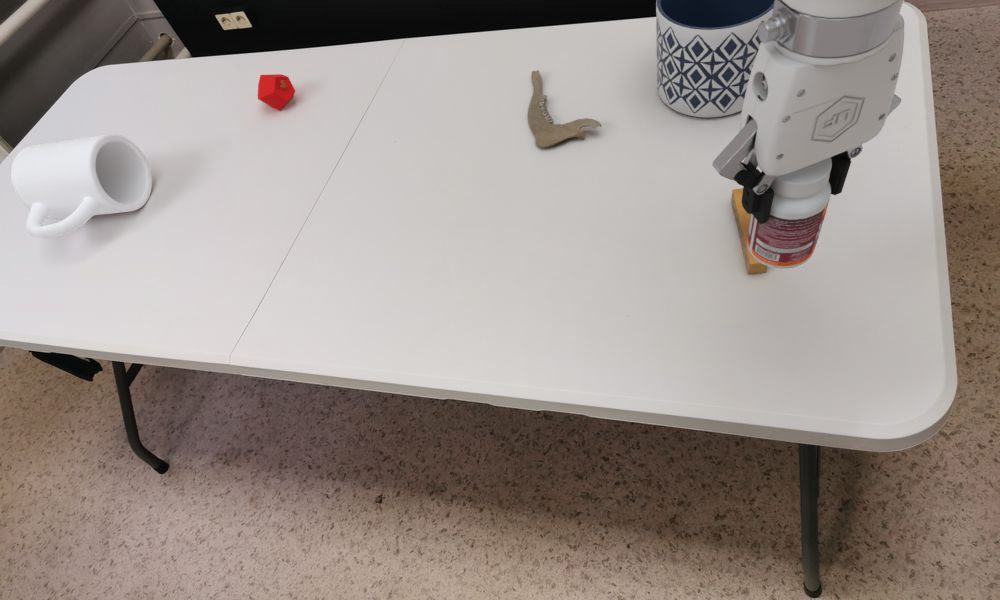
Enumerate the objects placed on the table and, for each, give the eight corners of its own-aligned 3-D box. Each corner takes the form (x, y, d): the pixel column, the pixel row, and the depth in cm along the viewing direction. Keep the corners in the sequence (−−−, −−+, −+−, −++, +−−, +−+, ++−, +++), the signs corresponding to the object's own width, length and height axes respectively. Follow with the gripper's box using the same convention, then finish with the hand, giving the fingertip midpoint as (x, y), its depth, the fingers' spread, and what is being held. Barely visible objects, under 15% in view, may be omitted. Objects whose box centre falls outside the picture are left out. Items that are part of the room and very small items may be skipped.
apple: (239, 86, 112) (260, 76, 107) (266, 69, 116) (287, 59, 111) (262, 120, 116) (283, 112, 110) (287, 103, 119) (309, 95, 114)
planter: (773, 116, 86) (789, 21, 75) (656, 124, 90) (655, 36, 79) (764, 47, 95) (777, -47, 83) (658, 58, 99) (656, -31, 87)
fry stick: (731, 200, 79) (732, 189, 78) (747, 198, 79) (749, 187, 77) (748, 274, 73) (749, 264, 71) (766, 272, 72) (768, 262, 71)
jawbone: (553, 165, 91) (550, 155, 89) (492, 101, 103) (488, 91, 102) (604, 133, 91) (602, 122, 90) (537, 73, 104) (533, 63, 102)
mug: (91, 182, 115) (34, 128, 105) (163, 173, 111) (112, 117, 101) (39, 263, 104) (-29, 213, 94) (118, 256, 101) (55, 203, 90)
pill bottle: (825, 262, 59) (854, 177, 49) (759, 277, 59) (776, 196, 50) (798, 216, 62) (820, 129, 53) (737, 231, 63) (748, 147, 54)
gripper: (743, 89, 39) (722, 263, 53) (998, -11, 39) (908, 190, 53) (686, 32, 43) (681, 206, 57) (915, -58, 43) (853, 139, 57)
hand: (791, 197), depth 55 cm, fingers closed on pill bottle, 6 cm apart
